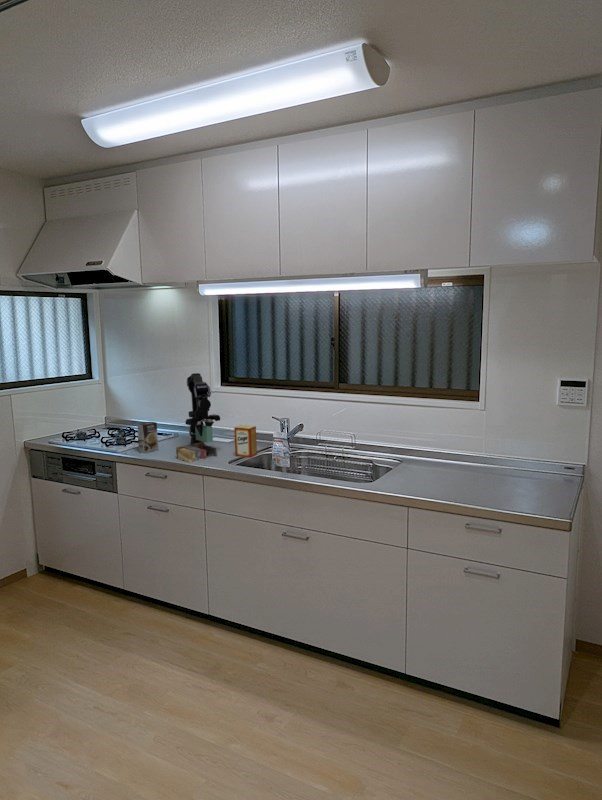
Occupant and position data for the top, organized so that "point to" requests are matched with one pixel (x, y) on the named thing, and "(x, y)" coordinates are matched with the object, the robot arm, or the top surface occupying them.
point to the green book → (205, 434)
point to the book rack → (195, 451)
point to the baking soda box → (245, 441)
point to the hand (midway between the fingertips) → (203, 435)
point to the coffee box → (147, 437)
